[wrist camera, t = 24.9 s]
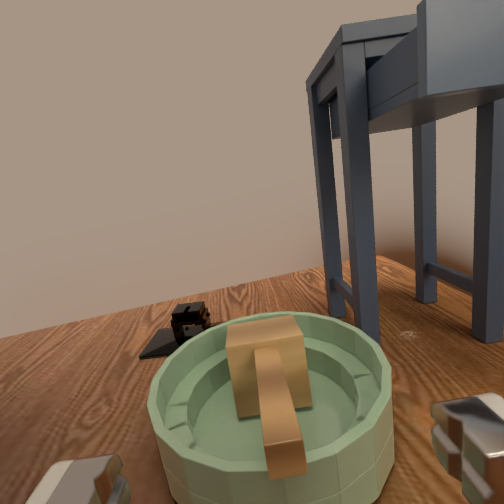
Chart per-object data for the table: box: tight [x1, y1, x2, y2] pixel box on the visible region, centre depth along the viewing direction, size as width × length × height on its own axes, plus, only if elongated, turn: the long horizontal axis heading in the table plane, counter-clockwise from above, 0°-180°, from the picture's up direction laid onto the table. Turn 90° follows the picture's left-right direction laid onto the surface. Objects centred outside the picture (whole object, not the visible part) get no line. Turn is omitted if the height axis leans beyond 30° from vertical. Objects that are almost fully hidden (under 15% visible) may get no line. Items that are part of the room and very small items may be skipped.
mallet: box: [225, 315, 313, 480], centre depth 20 cm, size 14×6×6 cm, turn 3°
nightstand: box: [306, 0, 504, 347], centre depth 27 cm, size 22×14×29 cm, turn 3°
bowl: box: [147, 311, 395, 504], centre depth 23 cm, size 17×17×6 cm
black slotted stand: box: [139, 301, 227, 359], centre depth 38 cm, size 12×7×5 cm, turn 88°
